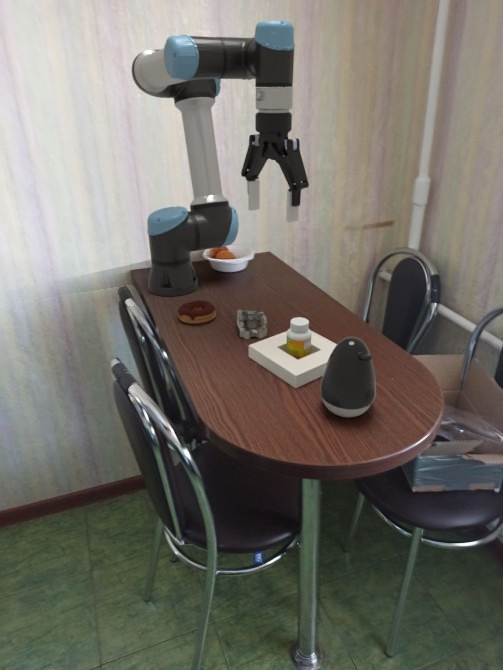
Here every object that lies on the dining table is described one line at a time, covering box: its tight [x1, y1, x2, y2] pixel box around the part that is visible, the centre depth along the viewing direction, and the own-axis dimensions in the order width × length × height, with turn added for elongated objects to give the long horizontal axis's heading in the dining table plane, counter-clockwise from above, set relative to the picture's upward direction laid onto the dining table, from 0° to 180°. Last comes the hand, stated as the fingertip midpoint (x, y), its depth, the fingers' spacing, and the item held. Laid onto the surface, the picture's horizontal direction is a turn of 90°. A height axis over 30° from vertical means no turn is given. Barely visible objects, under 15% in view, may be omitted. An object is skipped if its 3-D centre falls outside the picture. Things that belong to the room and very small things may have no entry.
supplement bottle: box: [286, 316, 312, 360], centre depth 104 cm, size 5×5×10 cm
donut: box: [177, 299, 217, 325], centre depth 125 cm, size 10×10×4 cm
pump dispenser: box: [319, 336, 377, 418], centre depth 87 cm, size 10×10×15 cm
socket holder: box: [248, 329, 338, 389], centre depth 106 cm, size 16×16×3 cm
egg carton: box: [236, 309, 268, 340], centre depth 119 cm, size 11×8×4 cm
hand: (272, 215), depth 107 cm, fingers open, 13 cm apart
